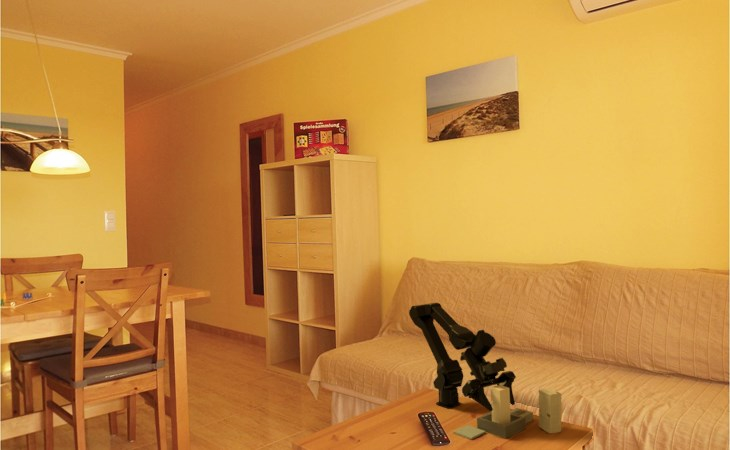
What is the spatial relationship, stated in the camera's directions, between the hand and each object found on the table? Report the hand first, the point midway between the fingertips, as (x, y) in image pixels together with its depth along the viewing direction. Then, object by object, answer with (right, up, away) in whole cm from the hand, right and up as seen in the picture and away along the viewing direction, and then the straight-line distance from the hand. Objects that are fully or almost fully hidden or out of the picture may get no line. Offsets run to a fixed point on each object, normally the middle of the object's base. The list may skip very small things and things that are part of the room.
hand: (502, 407), depth 169 cm
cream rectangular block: (0, -7, +1) cm, 7 cm away
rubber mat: (-11, -7, -1) cm, 13 cm away
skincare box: (+15, -7, -1) cm, 16 cm away
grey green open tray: (+3, -7, +4) cm, 8 cm away
